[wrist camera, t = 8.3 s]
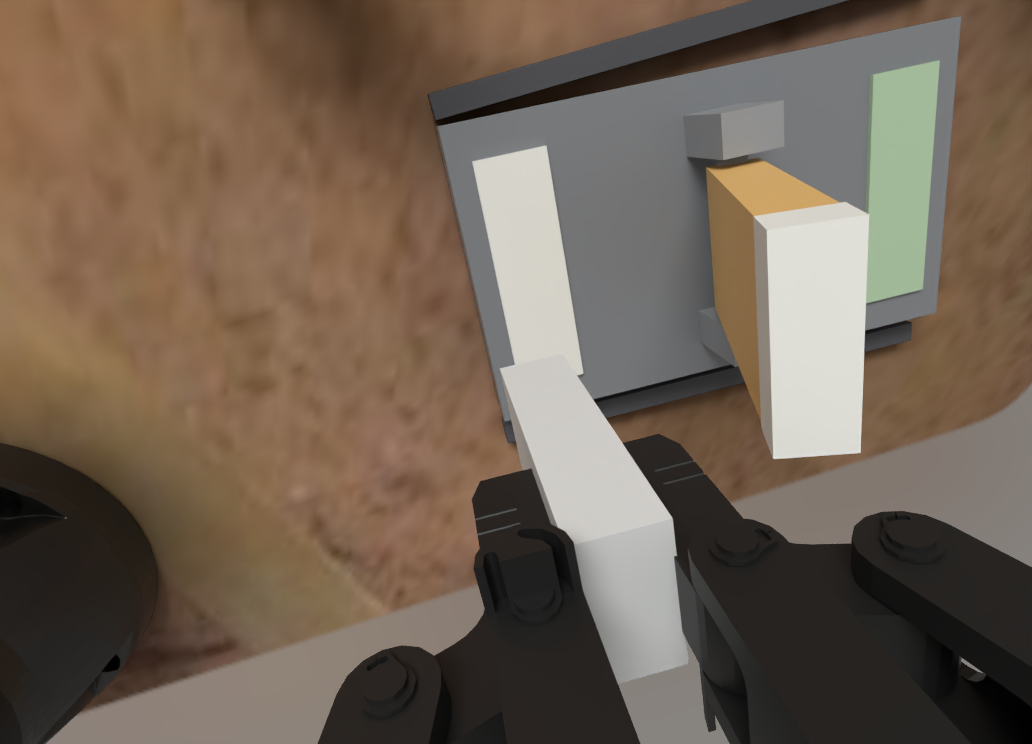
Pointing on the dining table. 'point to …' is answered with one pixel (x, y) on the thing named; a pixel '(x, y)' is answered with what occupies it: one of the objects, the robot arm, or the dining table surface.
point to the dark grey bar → (616, 54)
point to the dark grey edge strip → (712, 380)
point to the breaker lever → (791, 303)
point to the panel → (693, 199)
